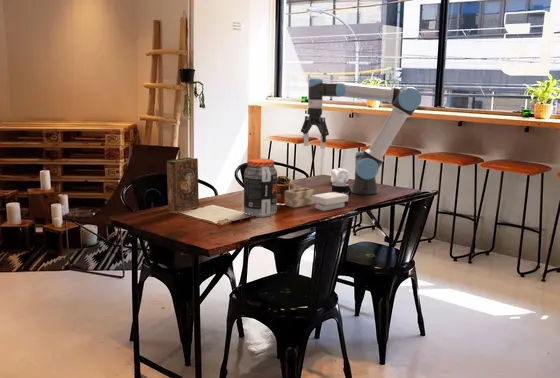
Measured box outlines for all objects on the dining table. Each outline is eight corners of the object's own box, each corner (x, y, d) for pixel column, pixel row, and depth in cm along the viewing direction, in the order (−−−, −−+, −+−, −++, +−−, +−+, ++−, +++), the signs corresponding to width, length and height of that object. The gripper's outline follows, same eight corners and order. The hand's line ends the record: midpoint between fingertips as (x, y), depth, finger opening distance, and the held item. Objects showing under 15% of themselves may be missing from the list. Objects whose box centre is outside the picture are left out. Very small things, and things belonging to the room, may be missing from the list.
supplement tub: (279, 217, 268) (280, 162, 263) (245, 218, 265) (245, 163, 260) (274, 209, 283) (274, 157, 278) (242, 210, 281) (242, 157, 275)
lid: (334, 199, 293) (334, 191, 292) (348, 203, 285) (348, 195, 285) (312, 203, 284) (312, 195, 283) (325, 207, 276) (325, 198, 276)
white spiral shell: (342, 186, 342) (343, 171, 341) (325, 183, 349) (325, 169, 347) (351, 183, 352) (351, 168, 350) (333, 180, 358) (334, 166, 356)
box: (305, 202, 298) (306, 187, 297) (314, 205, 293) (314, 189, 291) (284, 206, 290) (284, 190, 288) (293, 208, 284) (293, 193, 283)
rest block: (336, 205, 292) (336, 200, 291) (344, 208, 287) (344, 202, 287) (315, 209, 283) (315, 203, 283) (323, 212, 279) (323, 206, 278)
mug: (340, 206, 291) (340, 186, 289) (327, 203, 298) (328, 184, 296) (356, 203, 299) (357, 184, 297) (343, 200, 305) (344, 181, 303)
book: (174, 214, 271) (173, 162, 266) (166, 212, 274) (164, 161, 269) (198, 208, 284) (197, 158, 279) (190, 206, 287) (189, 157, 282)
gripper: (295, 106, 314) (294, 145, 318) (325, 109, 294) (324, 150, 299) (305, 106, 318) (304, 144, 323) (336, 108, 299) (335, 149, 303)
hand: (314, 147), depth 311 cm, fingers open, 13 cm apart
